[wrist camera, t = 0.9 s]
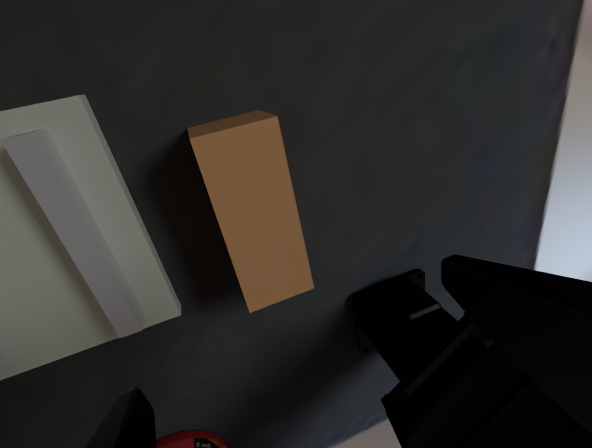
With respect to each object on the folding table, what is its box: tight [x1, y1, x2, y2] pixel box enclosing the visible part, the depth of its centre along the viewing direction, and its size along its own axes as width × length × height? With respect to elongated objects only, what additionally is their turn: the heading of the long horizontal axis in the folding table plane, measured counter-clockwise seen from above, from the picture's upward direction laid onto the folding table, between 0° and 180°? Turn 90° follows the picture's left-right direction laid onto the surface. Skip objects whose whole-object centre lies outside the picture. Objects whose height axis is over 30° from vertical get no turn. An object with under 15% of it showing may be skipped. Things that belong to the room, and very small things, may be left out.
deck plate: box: [0, 95, 181, 380], centre depth 16 cm, size 13×12×2 cm
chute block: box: [188, 110, 314, 313], centre depth 18 cm, size 10×4×4 cm, turn 12°
